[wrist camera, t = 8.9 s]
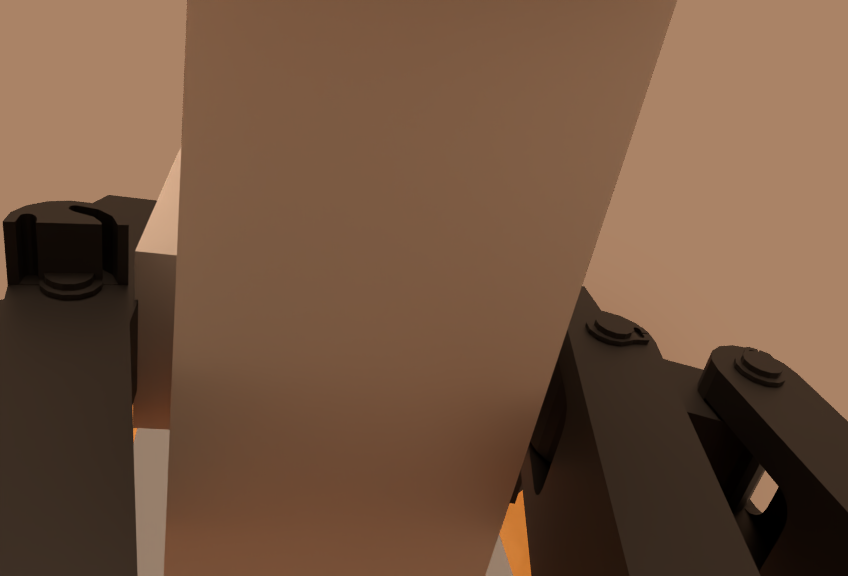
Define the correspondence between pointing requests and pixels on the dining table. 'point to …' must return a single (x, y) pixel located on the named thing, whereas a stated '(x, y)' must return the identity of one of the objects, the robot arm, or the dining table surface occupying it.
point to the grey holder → (153, 503)
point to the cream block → (382, 268)
